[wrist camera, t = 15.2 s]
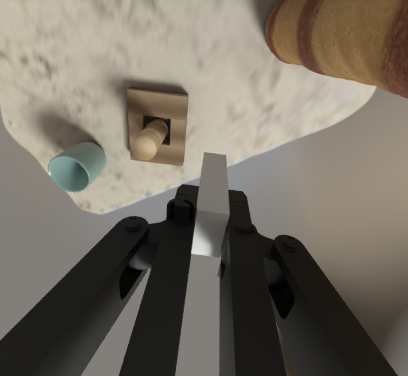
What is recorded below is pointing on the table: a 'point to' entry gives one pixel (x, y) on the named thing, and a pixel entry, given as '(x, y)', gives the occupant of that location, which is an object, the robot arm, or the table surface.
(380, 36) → the wafer roll
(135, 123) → the box with square hole
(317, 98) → the table surface
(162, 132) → the peg
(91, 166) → the cup
